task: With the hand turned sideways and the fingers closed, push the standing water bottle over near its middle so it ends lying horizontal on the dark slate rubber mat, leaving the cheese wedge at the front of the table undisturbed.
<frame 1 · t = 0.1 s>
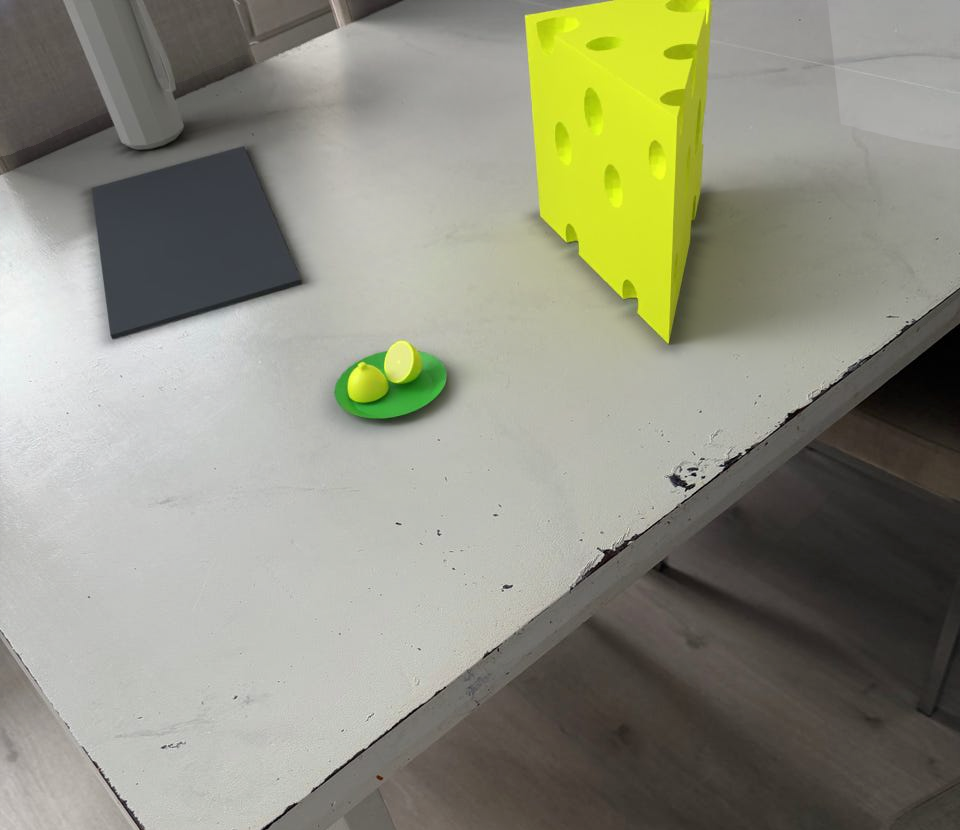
cheese wedge: (631, 248, 72), on the table
slate mat: (186, 232, 84), on the table
water bottle: (161, 140, 99), on the table
lemon: (392, 392, 64), on the table
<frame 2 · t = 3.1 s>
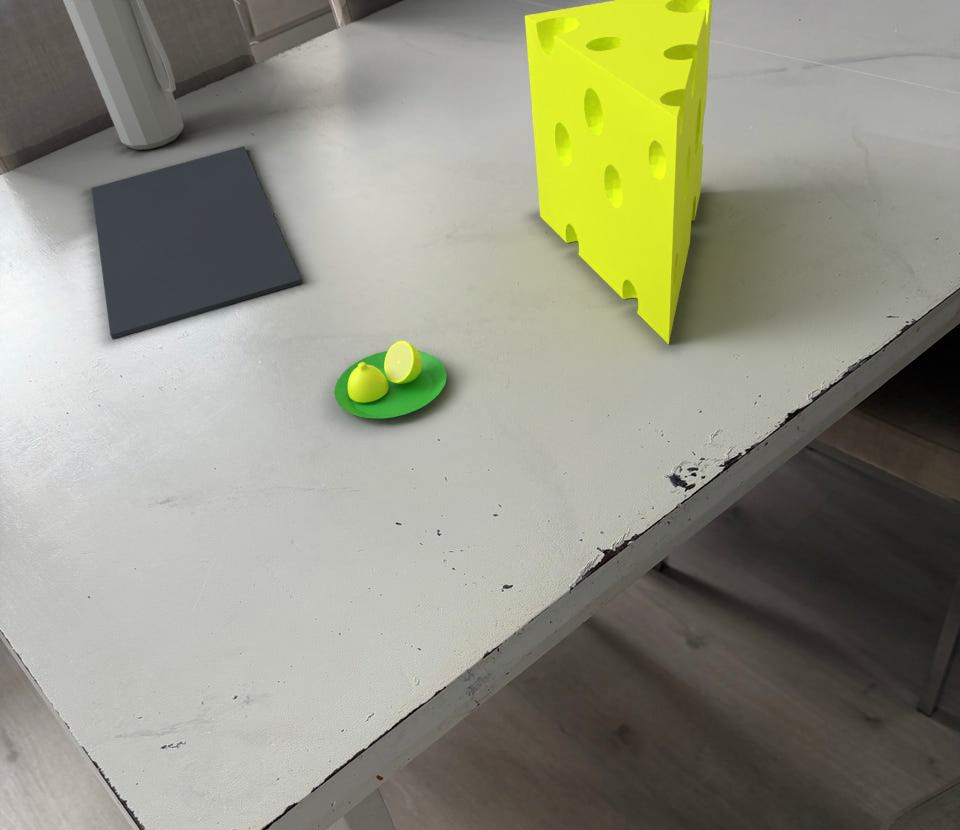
nothing on the table moved.
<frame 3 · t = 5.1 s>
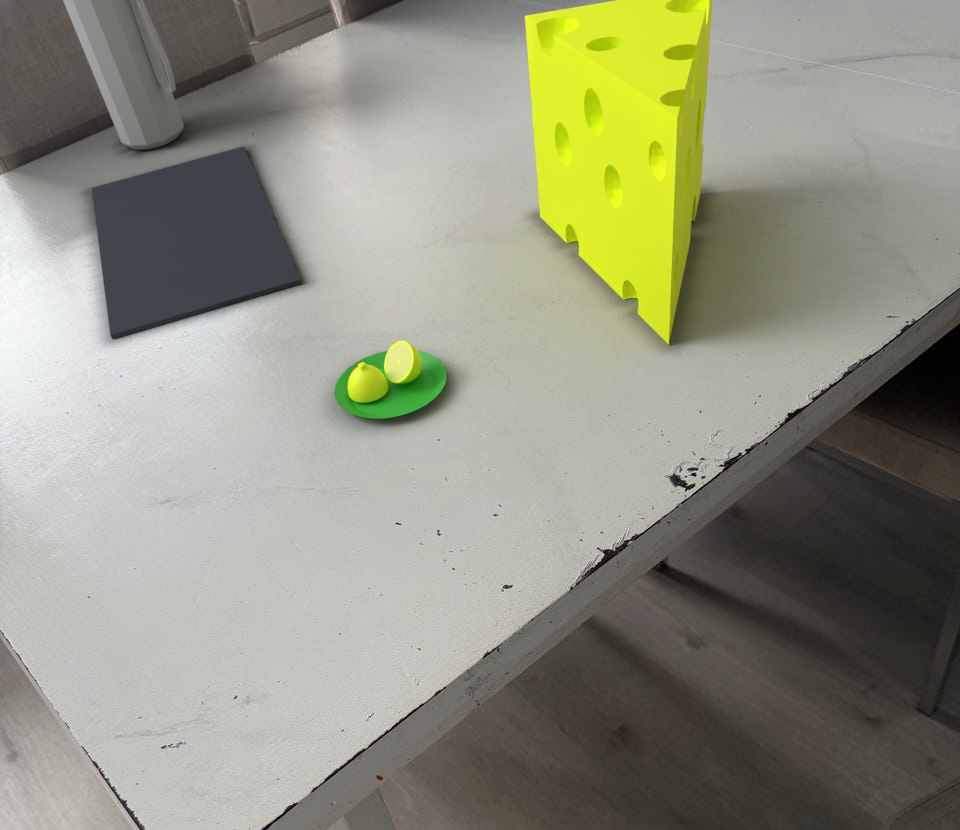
nothing on the table moved.
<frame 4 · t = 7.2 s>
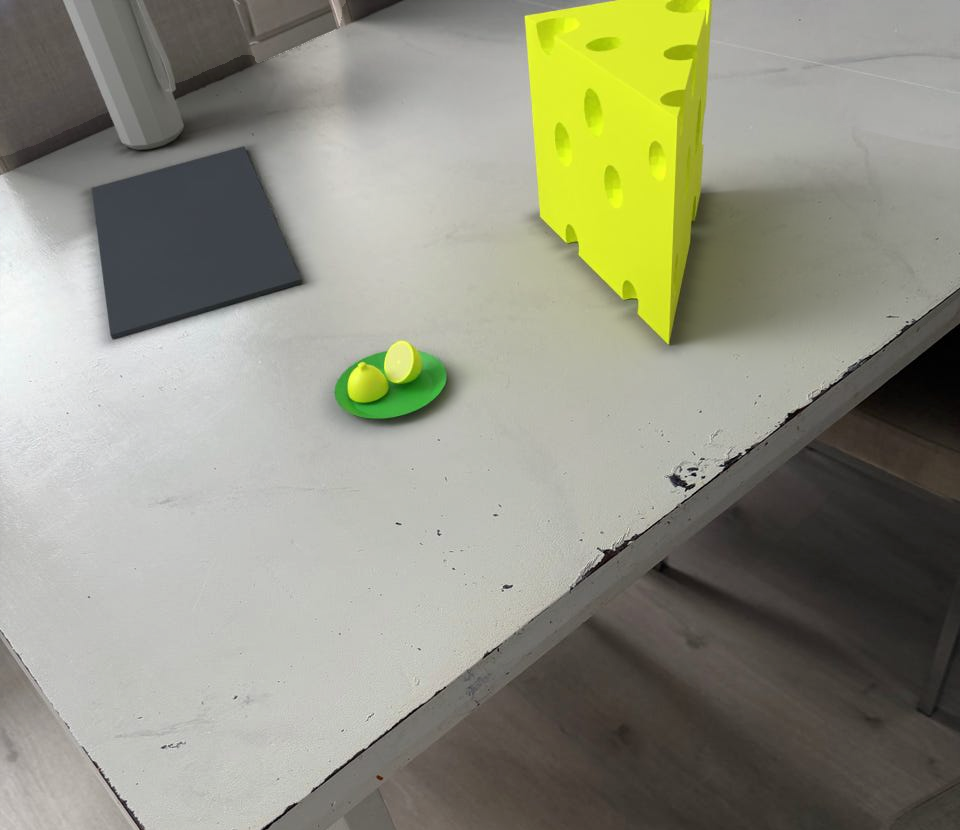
nothing on the table moved.
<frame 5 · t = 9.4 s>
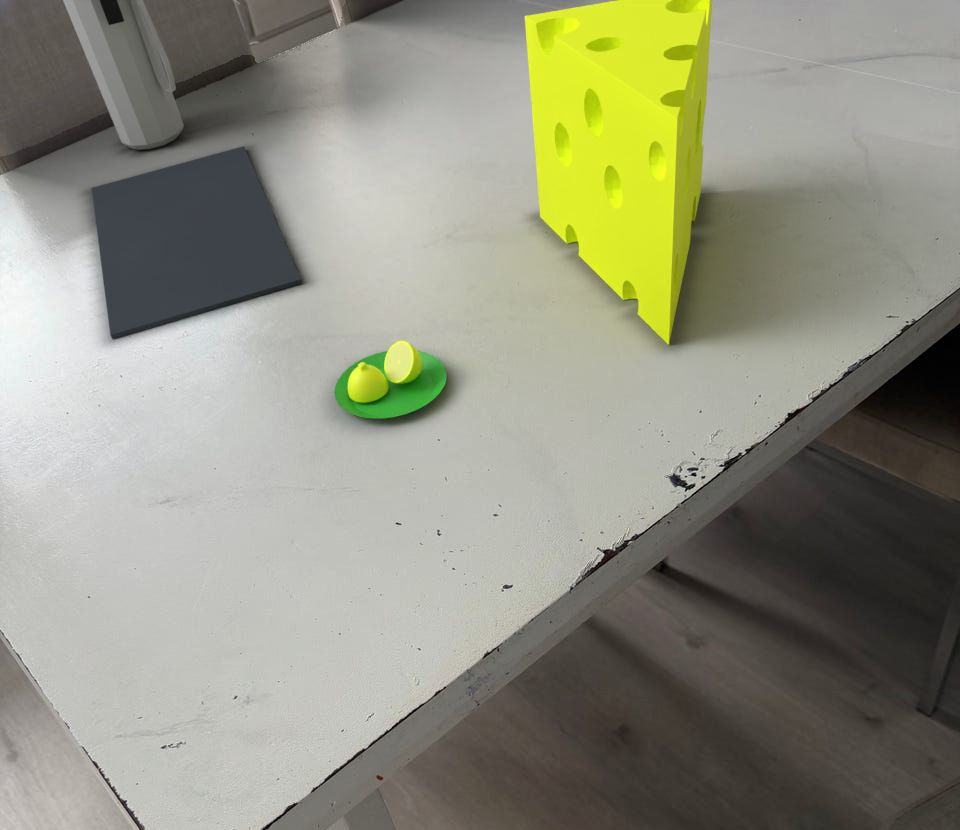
hand: (110, 6, 85), 13 cm above the table, tool horizontal, fingers closed
nothing on the table moved.
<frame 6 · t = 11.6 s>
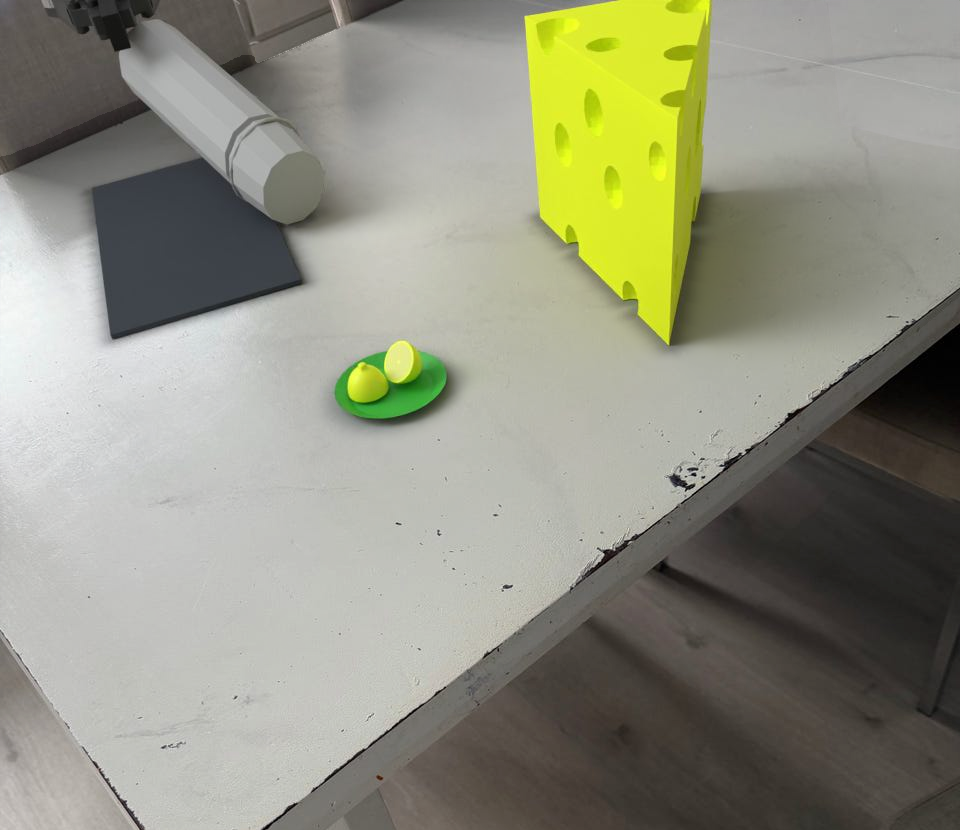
hand: (116, 32, 80), 13 cm above the table, tool horizontal, fingers closed
water bottle: (155, 62, 89), point 8 cm above the table, touching gripper
everything else where it was.
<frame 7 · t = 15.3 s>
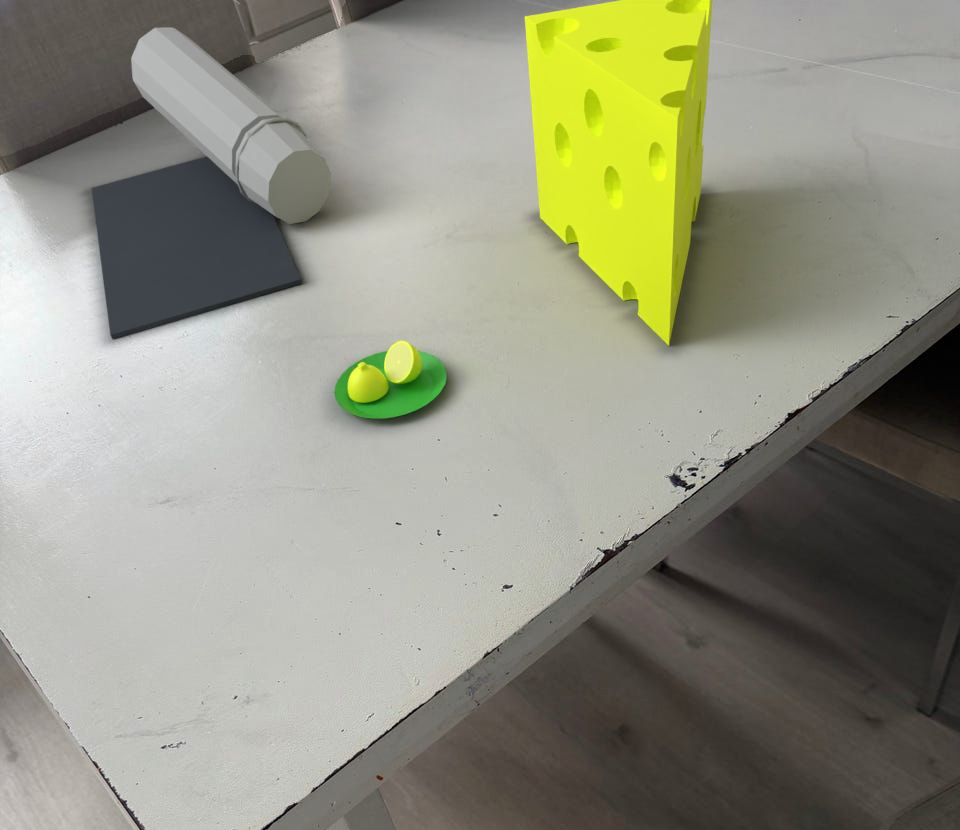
water bottle: (167, 70, 90), point 7 cm above the table, touching slate mat
everything else where it was.
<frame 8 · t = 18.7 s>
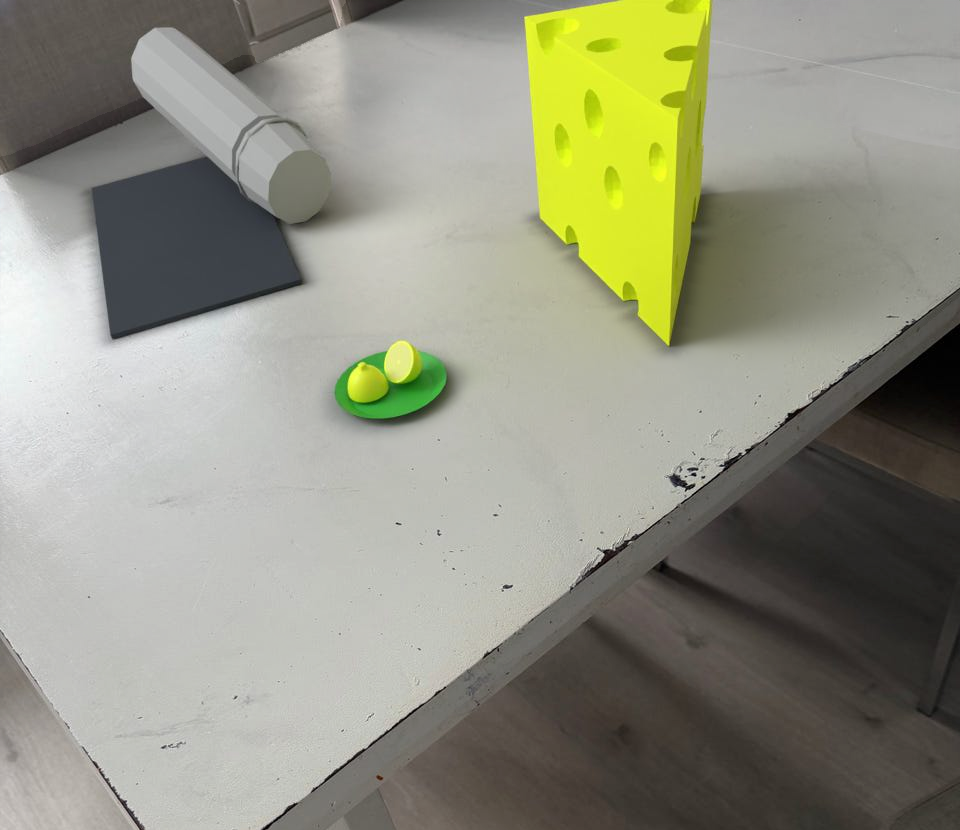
nothing on the table moved.
at the end: water bottle tilted 101°; water bottle touching slate mat, table; cheese wedge moved 0.3 cm from its start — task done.
